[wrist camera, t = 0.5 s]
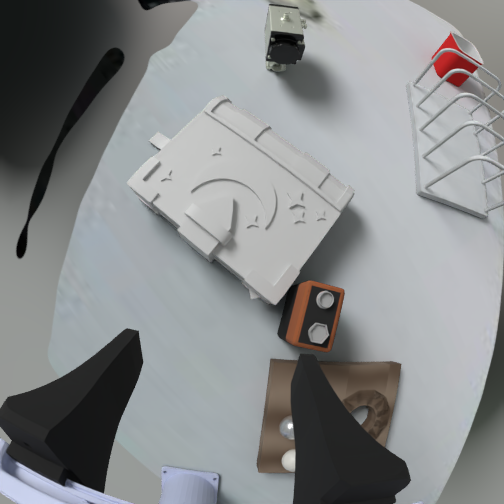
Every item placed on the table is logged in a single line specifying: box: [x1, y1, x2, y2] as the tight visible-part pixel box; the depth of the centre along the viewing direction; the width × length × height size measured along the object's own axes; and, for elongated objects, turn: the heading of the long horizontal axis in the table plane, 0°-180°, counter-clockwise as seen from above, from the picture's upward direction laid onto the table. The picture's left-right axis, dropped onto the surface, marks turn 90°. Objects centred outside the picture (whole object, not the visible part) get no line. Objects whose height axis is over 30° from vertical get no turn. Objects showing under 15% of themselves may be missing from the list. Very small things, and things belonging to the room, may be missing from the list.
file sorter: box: [406, 48, 504, 219], centre depth 38 cm, size 25×17×16 cm
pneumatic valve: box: [265, 4, 307, 72], centre depth 39 cm, size 6×12×12 cm, turn 179°
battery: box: [278, 280, 345, 352], centre depth 33 cm, size 4×7×10 cm, turn 165°
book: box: [127, 96, 355, 305], centre depth 37 cm, size 19×28×8 cm
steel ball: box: [279, 415, 294, 440], centre depth 32 cm, size 3×3×3 cm
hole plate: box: [257, 359, 401, 473], centre depth 35 cm, size 16×18×2 cm
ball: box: [282, 449, 295, 472], centre depth 31 cm, size 3×3×3 cm
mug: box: [432, 31, 484, 87], centre depth 46 cm, size 12×8×11 cm
